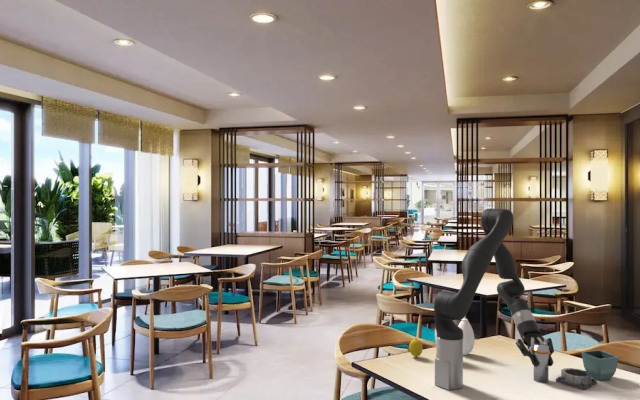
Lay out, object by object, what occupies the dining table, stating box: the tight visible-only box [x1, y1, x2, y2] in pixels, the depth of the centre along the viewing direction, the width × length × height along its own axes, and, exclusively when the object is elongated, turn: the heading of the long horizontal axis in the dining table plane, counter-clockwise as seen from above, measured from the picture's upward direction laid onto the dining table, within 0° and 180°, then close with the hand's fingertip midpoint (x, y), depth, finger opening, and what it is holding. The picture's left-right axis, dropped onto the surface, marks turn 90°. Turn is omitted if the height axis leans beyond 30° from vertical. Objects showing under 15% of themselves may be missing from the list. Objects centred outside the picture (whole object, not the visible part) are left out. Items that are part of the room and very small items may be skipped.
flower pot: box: [581, 349, 619, 382], centre depth 183 cm, size 9×9×9 cm
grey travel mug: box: [533, 343, 550, 384], centre depth 180 cm, size 6×6×13 cm
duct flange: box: [555, 367, 598, 391], centre depth 178 cm, size 10×10×4 cm
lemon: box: [408, 338, 424, 358], centre depth 205 cm, size 6×6×8 cm
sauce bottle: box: [457, 316, 475, 356], centre depth 210 cm, size 8×8×18 cm
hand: (544, 365), depth 178 cm, fingers closed on grey travel mug, 5 cm apart
